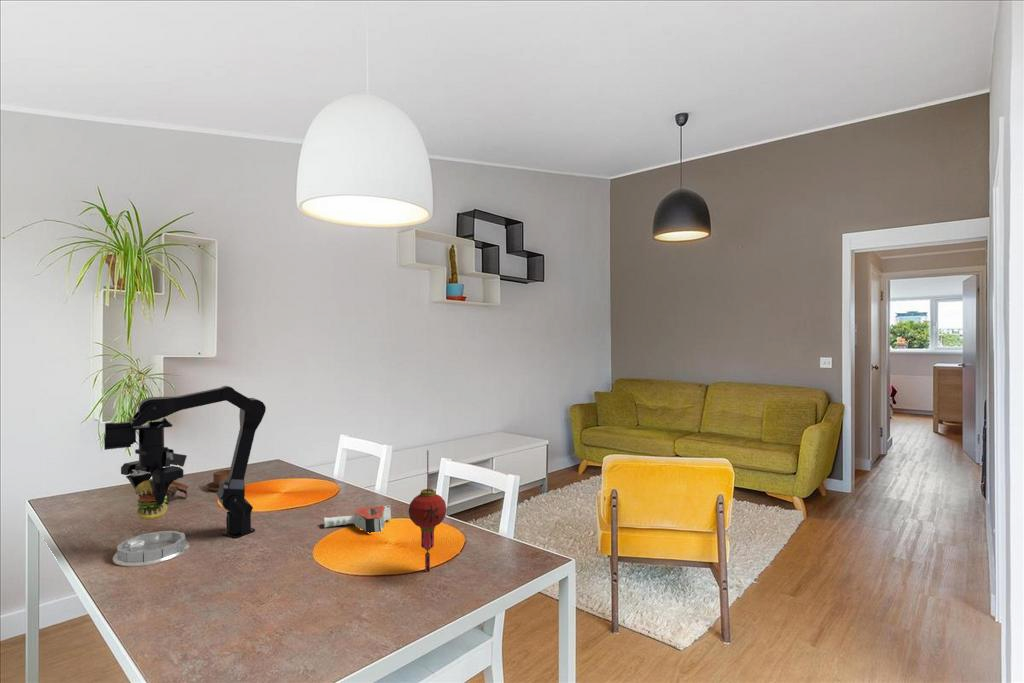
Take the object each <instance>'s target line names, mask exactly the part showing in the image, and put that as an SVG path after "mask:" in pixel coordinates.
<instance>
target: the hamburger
mask: <svg viewBox="0 0 1024 683" xmlns="http://www.w3.org/2000/svg"><path fill="white" fill-rule="evenodd" d="M150 481H154V480H153V479H152V478H150V479H149V480H146V481H143V482H141V483H140V484H139V485H137V487H136V489H134V494H135V495H138V496H139V495H141V496H140V497H138V499H137V503H138V504H137V508H138V509H137V511H136V513H137V517H138V518H139V519H141V520H144V521H154V520H157V519H160V518H162V517H163V516H164V515H165V514H166V513H167V511H168V505H167V504H166V503H168V502H167V501H166V498H167V496H165V499H164V502H163V504H161V505H158V504H157V502H156V499H155V496H154V493H153V490H152V488H151V485H150ZM168 489H169V488H168Z"/></svg>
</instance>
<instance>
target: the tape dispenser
mask: <svg viewBox="0 0 1024 683" xmlns="http://www.w3.org/2000/svg"><path fill="white" fill-rule="evenodd" d="M369 510H370V513H368V511H369ZM391 518H392V511H391V505H389V504H388V505H379V506H378V505H377V506H369V507H362V508H356V509H355V512H354V514H353V515H342V516H333V517H323V526H324V528H329V527H337V526H344V525H346V526H347V525H350V524H353V525H355V527H356V526H357V527H359V528H361V529H363V530H365V533H366V532H369V533H371V532H379V531H380V532H381V530H382V529H384V528H385V524H386V521H387V520H391Z"/></svg>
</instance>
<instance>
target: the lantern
mask: <svg viewBox="0 0 1024 683" xmlns="http://www.w3.org/2000/svg"><path fill="white" fill-rule="evenodd" d="M426 456H427V458H426V459H427V460H426V461H427V462H426V463H427V465H426V466H427V467H426V468H427V469H426V470H427V472H426V473H427V474H426V476H427V478H426V479H427V480H426V488H425V489H424V488H423V489H422V490H420V493H419V494H418V495H416V496H414V497H413V499H412V500H411V502H409V507H408V515H409V519H410V520H411V521H412V523H413V524H414V525H415V526H416V527H419V529H420V531H421V536H420V542H421V548H422V549H424V550H425V551H426V552H425V554H424V556H425V558H424V566H425V567H424V568H425V569H424V572H426V571H427V572H426V573H429V572H431V553H430V552H429V551H430V550H431V549H432V548H433V547H435V528H436V526H438V525H441V523H442V522H443V521H444V519H445V518H446V516H447V511H448V510H447V504H446V501H445V500H444V498H443V497H442V496H440V495H439V494H437V493H436V490H435V489H432V488H429V450H427V452H426Z"/></svg>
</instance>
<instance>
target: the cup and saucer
mask: <svg viewBox="0 0 1024 683" xmlns="http://www.w3.org/2000/svg"><path fill="white" fill-rule="evenodd" d="M229 472H230V469H221V470H217V471H215V472H213V474H212V475H213V476H212V477H213V481H212V482H208V483H207V484H206V485H205V487H206V488H207V489H208V490H210V491H215V492H218V490H219V483H220V481H225V480H226V479H227V477H228V475H229Z"/></svg>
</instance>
